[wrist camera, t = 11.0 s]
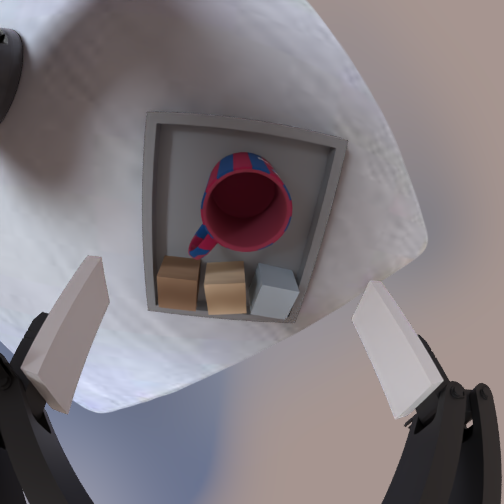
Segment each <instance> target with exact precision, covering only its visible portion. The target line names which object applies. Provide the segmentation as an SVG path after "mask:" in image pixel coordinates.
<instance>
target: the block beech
mask: <svg viewBox="0 0 504 504" xmlns="http://www.w3.org/2000/svg"><path fill="white" fill-rule="evenodd" d="M204 288H205V295H206V302H207V308H208V314H209V315H221V314H242V313H247V312H246V288H245V273H244V261H232V262H211V263H207V265H206V273H205V280H204Z"/></svg>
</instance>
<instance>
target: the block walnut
mask: <svg viewBox="0 0 504 504" xmlns="http://www.w3.org/2000/svg"><path fill="white" fill-rule="evenodd" d="M200 264H201V259H200V260H196V259H194V258H185V257H176V256H166V255H165V256H164V259H163V261H162V264H161V267H160V269H159V272H158V274H157V290H158V305H159V307H161V308H169V309H178V310H187V311H196V306H197V299H198V292H199V280H200Z"/></svg>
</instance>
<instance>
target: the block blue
mask: <svg viewBox="0 0 504 504" xmlns="http://www.w3.org/2000/svg"><path fill="white" fill-rule="evenodd" d="M248 293H249V304H250V314H253V315H259V316H264V317H270V318H277V319H283V320H286V318H287V316H288V314H289V312H290V310H291V308H292V306H293V304H294V302H295V300H296V298H297V296H298V294H299V289H298V286H297V283H296V280H295V277H294V274H293V271H292V270H289V269H284V268H280V267H275V266H271V265H266V264H262V263H258V266H257V269H256V272H255V274H254V277H253V280H252V282H251V285H250V288H249V290H248Z"/></svg>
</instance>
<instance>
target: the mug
mask: <svg viewBox="0 0 504 504" xmlns="http://www.w3.org/2000/svg"><path fill="white" fill-rule="evenodd" d="M291 217H292V200H291V197H290V193H289V191H288V190H287V188H286V186H285V184H284V183H283V181H282V180H281V178H280V177H279V175H278V174H277V172H276V171H275V170H274V168H273V167H272V165H271V164H270V163H269V162H268V161H267V160H266V159H264V158H263V157H261V156H259V155H256V154H254V153H248V152H239V153H234V154H231V155H228V156H226V157H225V158H223V159H222V160H220V161H219V162H218V163H217V164H216V165H215V167H214V168H213V170H212V172H211V174H210V177H209V180H208V183H207V186H206V189H205V192H204V195H203V198H202V202H201V218H202V222H203V224H202V225H201V226H200V228H199V229H198V230H197V232H196V233H195V235H194V237H193V238H192V240H191V242H190V245H189V248H188V254H189V255H190V256H191V257H192V258H194V259H196V260H200V259H202V258H204V257H205V256H206V255H207V254H208V253H209V252H210V251H211V250H212V249H213V248H214V247H215V246H216V245H217V244H220V245H221V246H223V247H225V248H227V249H230V250H234V251H239V252H252V251H258V250H261V249H264V248H266V247H268V246H270V245H272V244H273V243H275V242H276V241H277V240H278V239H279V238H280V237H281V236H282V235H283V234H284V232H285V231H286V230H287V228H288V226H289V223H290V221H291Z"/></svg>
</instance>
